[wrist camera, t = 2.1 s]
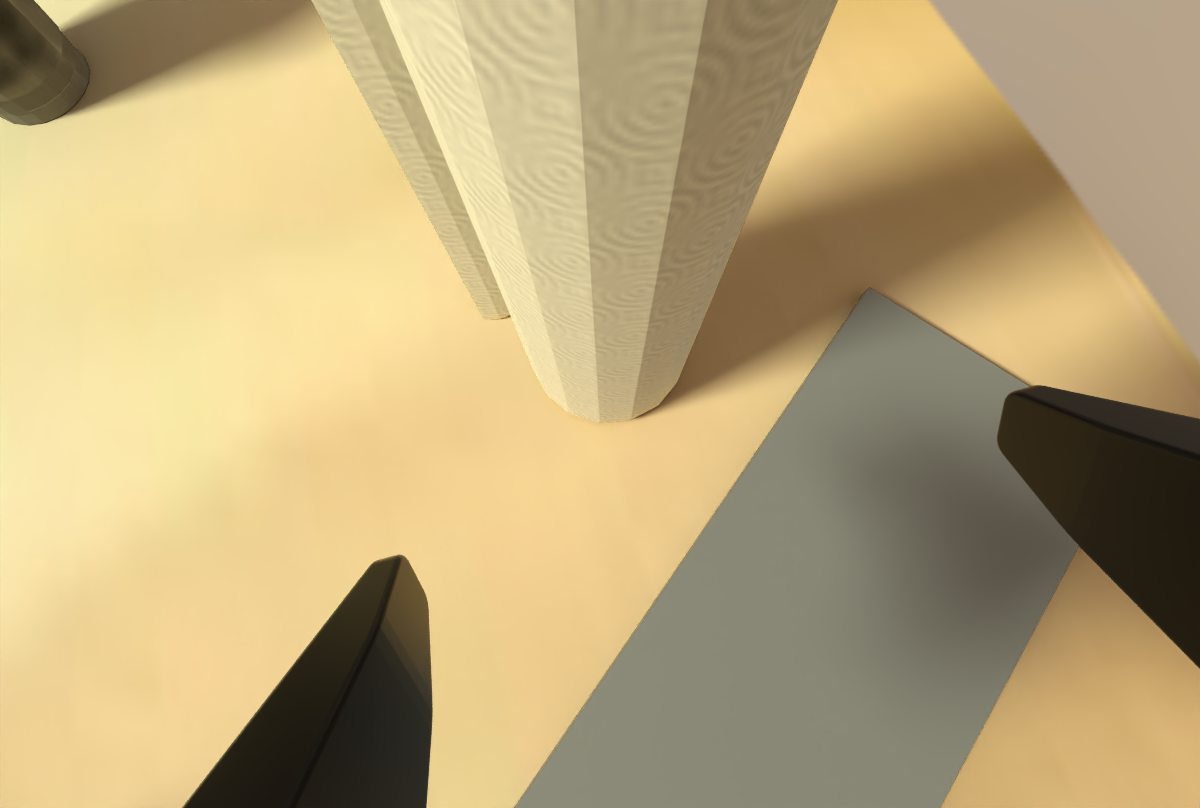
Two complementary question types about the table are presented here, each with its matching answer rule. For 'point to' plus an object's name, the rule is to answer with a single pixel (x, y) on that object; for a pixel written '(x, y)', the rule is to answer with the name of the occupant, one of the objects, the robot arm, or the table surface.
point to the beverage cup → (36, 66)
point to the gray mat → (833, 600)
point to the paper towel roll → (585, 161)
